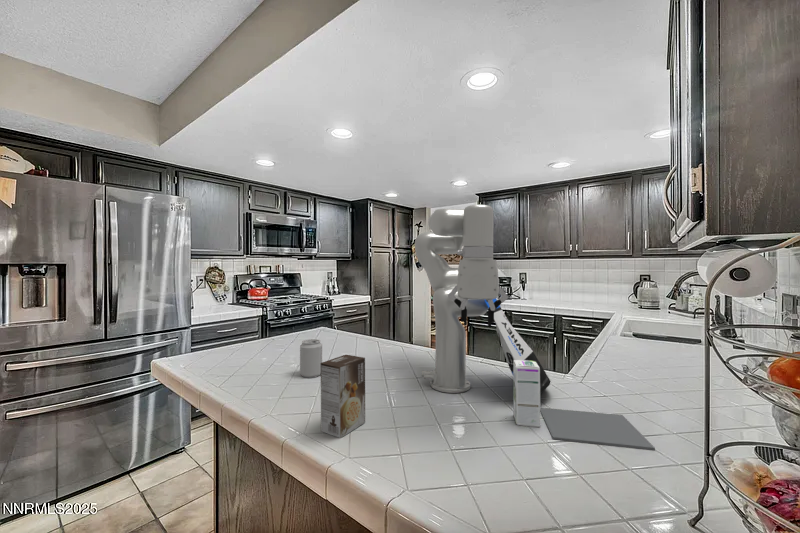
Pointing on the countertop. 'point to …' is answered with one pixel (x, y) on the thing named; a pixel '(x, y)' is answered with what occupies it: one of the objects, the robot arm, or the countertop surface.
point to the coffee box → (342, 394)
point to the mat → (593, 428)
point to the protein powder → (515, 345)
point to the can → (310, 358)
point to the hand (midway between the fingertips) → (477, 324)
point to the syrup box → (526, 393)
